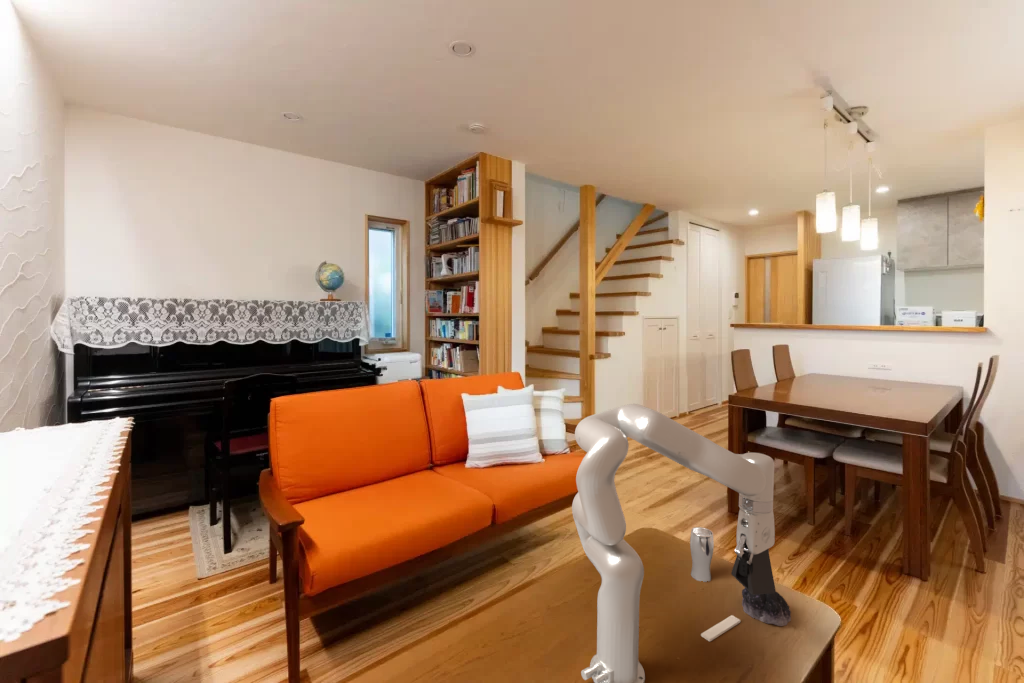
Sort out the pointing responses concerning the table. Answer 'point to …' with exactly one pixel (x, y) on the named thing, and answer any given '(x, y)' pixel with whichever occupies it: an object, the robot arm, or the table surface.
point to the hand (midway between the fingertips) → (753, 571)
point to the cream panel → (720, 628)
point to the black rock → (766, 607)
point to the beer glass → (701, 553)
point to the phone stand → (757, 574)
